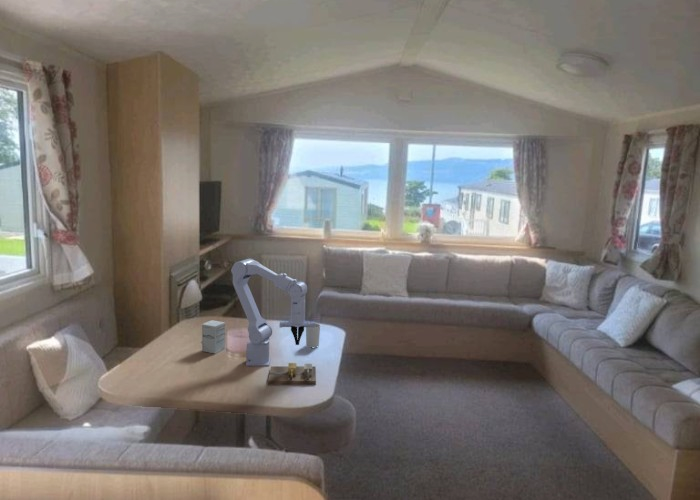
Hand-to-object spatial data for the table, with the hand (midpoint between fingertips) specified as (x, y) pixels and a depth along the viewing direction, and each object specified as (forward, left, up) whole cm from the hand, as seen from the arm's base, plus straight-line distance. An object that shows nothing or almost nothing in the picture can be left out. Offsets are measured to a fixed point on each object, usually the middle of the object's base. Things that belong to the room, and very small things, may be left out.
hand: (297, 344), depth 196 cm
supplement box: (-38, +21, -11) cm, 44 cm away
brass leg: (-2, -10, -9) cm, 13 cm away
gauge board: (-1, -8, -10) cm, 14 cm away
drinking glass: (+6, +27, -11) cm, 29 cm away
